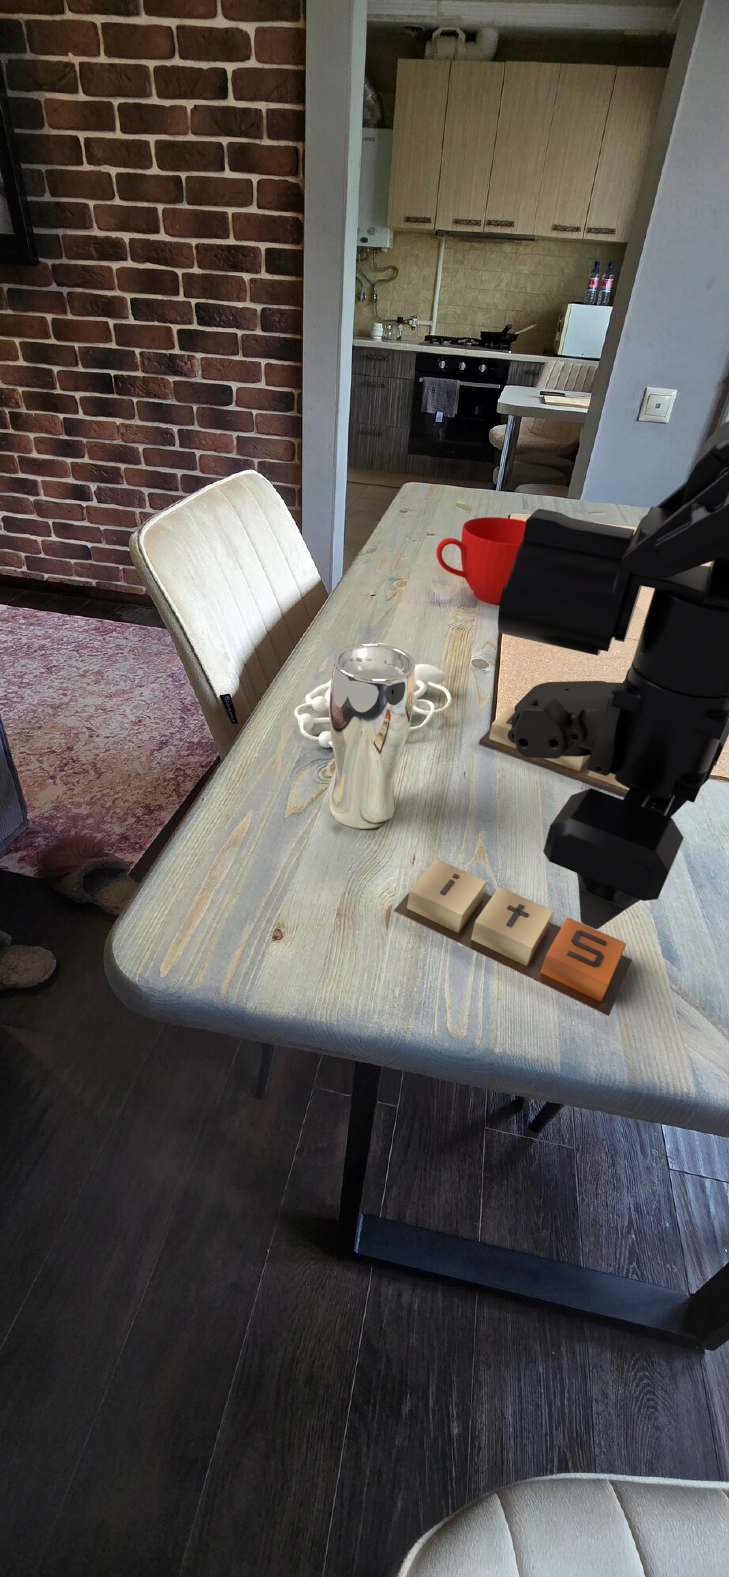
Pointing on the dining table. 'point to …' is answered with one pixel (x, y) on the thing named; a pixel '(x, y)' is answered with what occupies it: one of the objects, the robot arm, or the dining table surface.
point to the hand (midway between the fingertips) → (611, 883)
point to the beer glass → (368, 730)
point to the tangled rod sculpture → (422, 681)
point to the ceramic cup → (486, 554)
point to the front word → (495, 926)
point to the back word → (562, 765)
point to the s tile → (583, 958)
